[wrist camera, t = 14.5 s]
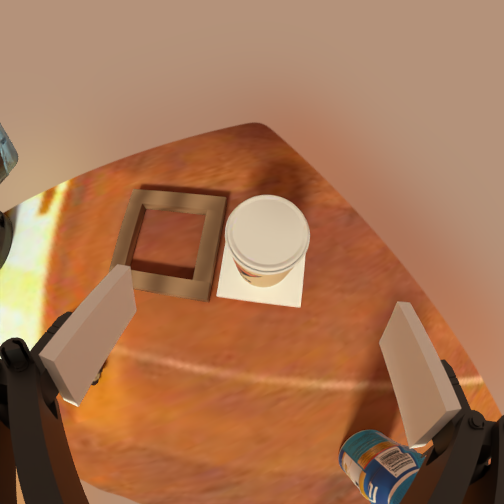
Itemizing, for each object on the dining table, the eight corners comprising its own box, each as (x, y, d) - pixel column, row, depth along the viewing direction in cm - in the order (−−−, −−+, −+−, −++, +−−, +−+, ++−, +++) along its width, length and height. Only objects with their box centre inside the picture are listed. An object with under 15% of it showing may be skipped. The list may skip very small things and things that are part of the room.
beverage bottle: (394, 432, 34) (474, 467, 15) (372, 477, 32) (435, 531, 13) (350, 422, 35) (419, 466, 16) (327, 469, 33) (376, 536, 14)
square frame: (112, 284, 42) (106, 281, 40) (137, 194, 47) (133, 189, 45) (209, 302, 41) (207, 300, 39) (227, 203, 46) (226, 197, 44)
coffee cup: (222, 244, 43) (213, 207, 32) (280, 224, 44) (290, 182, 33) (244, 303, 40) (242, 285, 29) (304, 279, 42) (325, 254, 30)
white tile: (216, 296, 41) (216, 295, 41) (230, 220, 45) (229, 219, 44) (299, 307, 41) (300, 307, 40) (306, 230, 45) (307, 229, 44)
